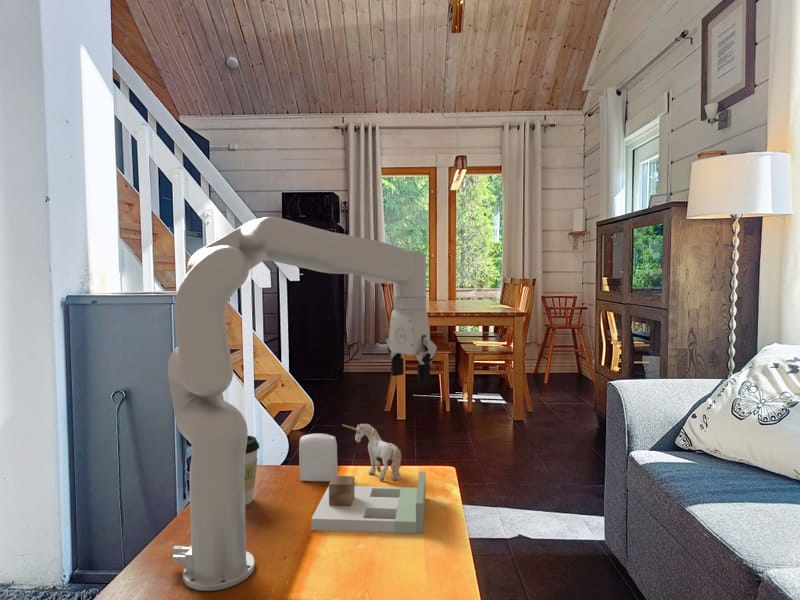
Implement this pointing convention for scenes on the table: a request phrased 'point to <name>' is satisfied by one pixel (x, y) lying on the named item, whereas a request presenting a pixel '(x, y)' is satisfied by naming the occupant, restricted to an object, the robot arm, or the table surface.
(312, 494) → the table surface
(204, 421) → the robot arm
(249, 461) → the coffee cup
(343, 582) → the table surface
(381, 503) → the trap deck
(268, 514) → the table surface
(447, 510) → the table surface
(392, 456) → the unicorn figurine
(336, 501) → the walnut block
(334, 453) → the photo printer
